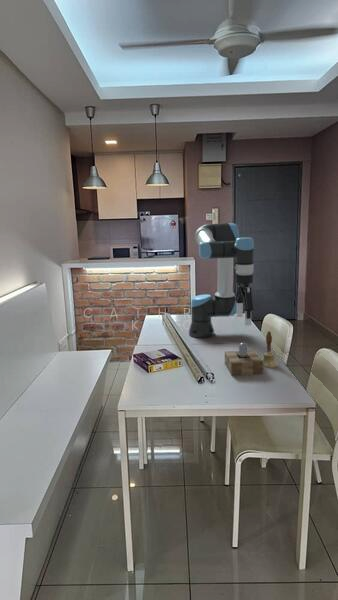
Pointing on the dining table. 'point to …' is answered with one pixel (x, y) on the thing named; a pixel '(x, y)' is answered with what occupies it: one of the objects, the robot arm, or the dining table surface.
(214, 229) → the robot arm
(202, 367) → the dining table surface
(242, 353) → the peg
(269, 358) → the hand bell
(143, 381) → the dining table surface
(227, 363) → the socket
